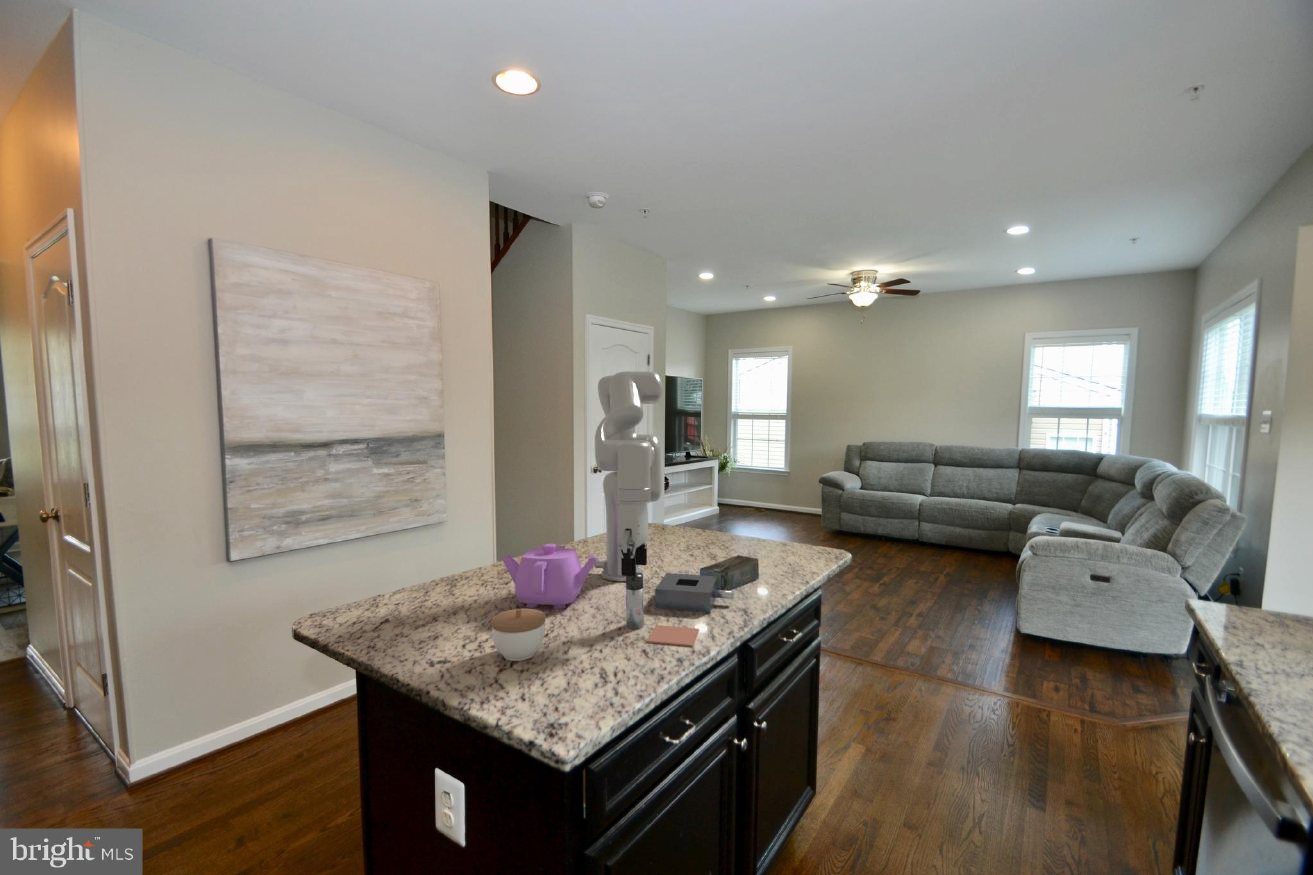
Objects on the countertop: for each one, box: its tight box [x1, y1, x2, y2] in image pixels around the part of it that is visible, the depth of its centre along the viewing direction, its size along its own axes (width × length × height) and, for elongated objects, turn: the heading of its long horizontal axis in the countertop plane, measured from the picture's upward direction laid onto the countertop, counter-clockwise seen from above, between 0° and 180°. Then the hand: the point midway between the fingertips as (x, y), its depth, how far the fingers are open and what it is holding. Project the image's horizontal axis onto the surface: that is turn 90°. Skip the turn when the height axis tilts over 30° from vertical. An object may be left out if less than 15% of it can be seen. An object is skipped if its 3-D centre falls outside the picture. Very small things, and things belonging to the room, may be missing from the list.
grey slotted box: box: [654, 572, 735, 614], centre depth 146 cm, size 19×14×5 cm
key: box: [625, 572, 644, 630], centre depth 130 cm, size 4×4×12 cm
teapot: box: [501, 543, 598, 610], centre depth 147 cm, size 19×18×15 cm
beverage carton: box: [699, 554, 760, 591], centre depth 162 cm, size 8×19×7 cm, turn 137°
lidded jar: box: [490, 608, 546, 662], centre depth 115 cm, size 11×11×9 cm
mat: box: [646, 624, 700, 648], centre depth 125 cm, size 10×9×1 cm
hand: (634, 570), depth 129 cm, fingers open, 9 cm apart
